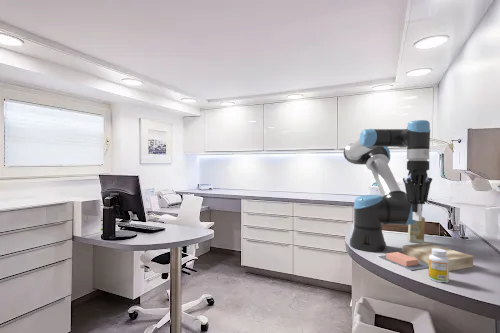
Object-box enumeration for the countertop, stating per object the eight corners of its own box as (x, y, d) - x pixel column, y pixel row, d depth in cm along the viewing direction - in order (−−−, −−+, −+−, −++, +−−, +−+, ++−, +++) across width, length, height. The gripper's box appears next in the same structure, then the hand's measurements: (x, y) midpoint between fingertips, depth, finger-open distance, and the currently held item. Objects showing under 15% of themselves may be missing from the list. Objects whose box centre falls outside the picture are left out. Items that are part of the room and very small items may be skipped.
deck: (402, 255, 113) (402, 245, 113) (426, 251, 117) (426, 242, 117) (446, 271, 96) (446, 260, 96) (473, 266, 101) (473, 256, 100)
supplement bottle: (434, 275, 93) (434, 246, 93) (452, 281, 88) (452, 251, 88) (425, 278, 90) (425, 248, 90) (443, 284, 85) (443, 253, 85)
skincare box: (409, 242, 132) (410, 217, 132) (407, 239, 136) (407, 215, 136) (424, 243, 130) (425, 217, 130) (422, 241, 134) (422, 216, 134)
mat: (378, 256, 110) (378, 256, 110) (398, 254, 114) (398, 253, 114) (412, 270, 96) (412, 269, 96) (433, 267, 100) (433, 266, 100)
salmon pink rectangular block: (397, 251, 110) (397, 256, 110) (386, 253, 108) (386, 258, 108) (418, 259, 101) (418, 264, 101) (406, 261, 99) (406, 266, 99)
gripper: (414, 159, 101) (412, 223, 101) (439, 160, 105) (438, 221, 106) (397, 160, 108) (396, 219, 109) (421, 160, 113) (420, 217, 113)
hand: (417, 220), depth 107 cm, fingers closed
